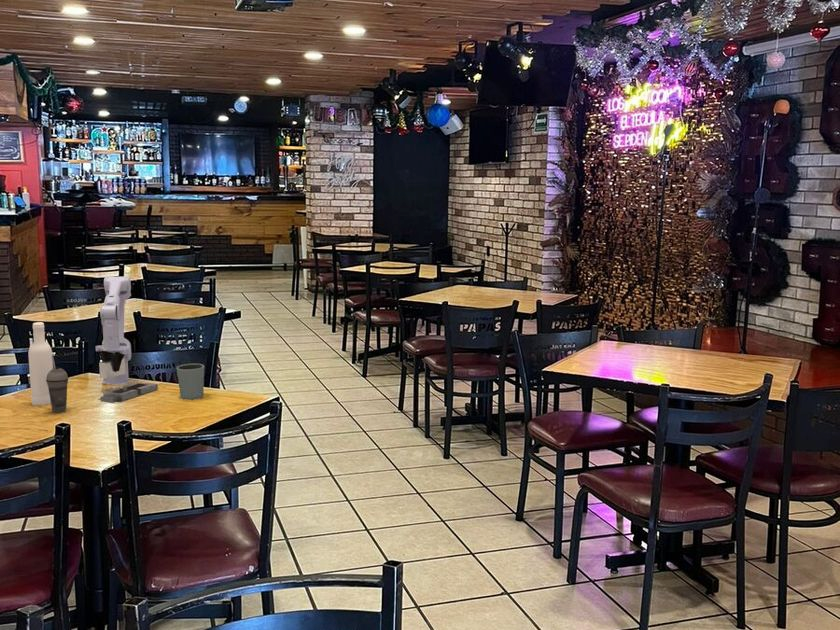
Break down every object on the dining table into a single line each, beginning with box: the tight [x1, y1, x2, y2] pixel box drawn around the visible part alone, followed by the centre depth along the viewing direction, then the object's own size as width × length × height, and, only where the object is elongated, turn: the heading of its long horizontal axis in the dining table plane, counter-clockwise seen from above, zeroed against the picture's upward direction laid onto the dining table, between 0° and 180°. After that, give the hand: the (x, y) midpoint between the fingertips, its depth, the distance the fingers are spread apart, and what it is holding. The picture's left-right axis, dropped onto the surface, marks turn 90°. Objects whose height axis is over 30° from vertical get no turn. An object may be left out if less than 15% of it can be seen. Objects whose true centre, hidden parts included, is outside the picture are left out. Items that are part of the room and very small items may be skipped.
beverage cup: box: [46, 355, 69, 414], centre depth 282 cm, size 7×7×20 cm
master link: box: [98, 358, 125, 379], centre depth 308 cm, size 3×10×6 cm, turn 157°
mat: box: [97, 388, 160, 403], centre depth 306 cm, size 11×21×1 cm, turn 157°
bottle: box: [27, 321, 54, 406], centre depth 291 cm, size 8×8×30 cm
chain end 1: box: [99, 387, 138, 404], centre depth 299 cm, size 9×11×2 cm
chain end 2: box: [122, 381, 159, 396], centre depth 311 cm, size 9×11×2 cm
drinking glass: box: [175, 363, 205, 401], centre depth 303 cm, size 10×10×12 cm
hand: (113, 370), depth 308 cm, fingers closed on master link, 3 cm apart
